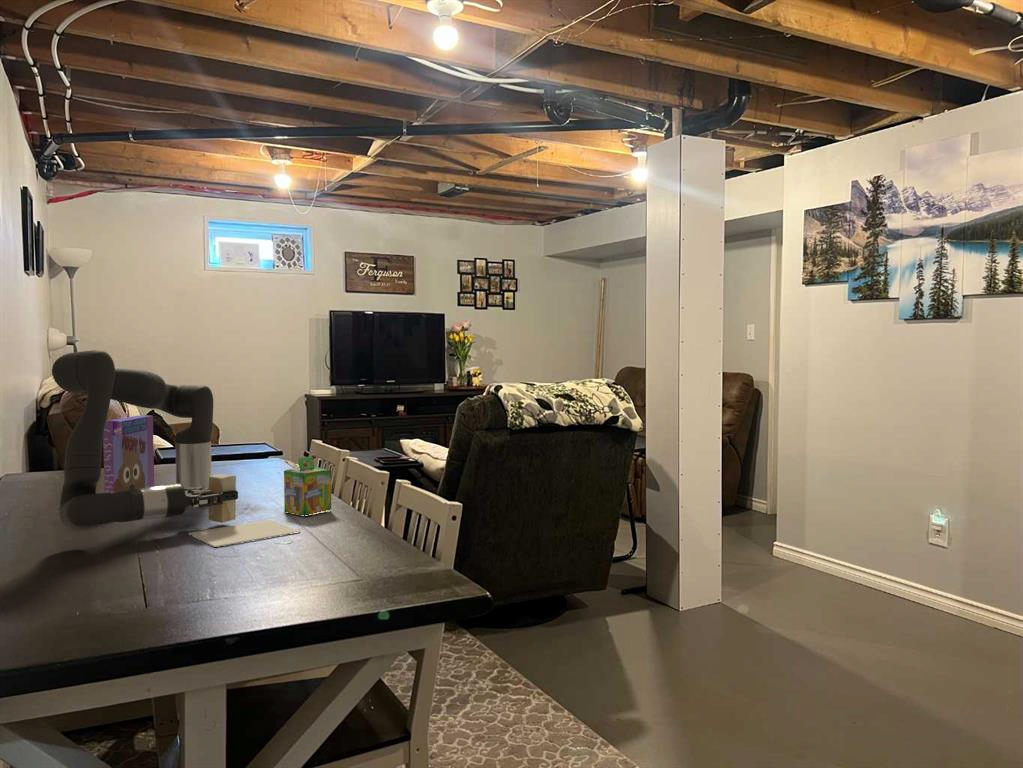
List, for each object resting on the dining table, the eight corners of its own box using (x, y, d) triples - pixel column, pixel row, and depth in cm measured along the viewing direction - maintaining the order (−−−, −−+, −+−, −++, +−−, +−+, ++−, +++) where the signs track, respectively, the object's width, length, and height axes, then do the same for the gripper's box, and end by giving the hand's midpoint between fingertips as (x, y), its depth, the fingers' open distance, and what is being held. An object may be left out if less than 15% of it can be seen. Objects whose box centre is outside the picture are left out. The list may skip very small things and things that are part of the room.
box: (207, 520, 182) (207, 475, 181) (222, 517, 186) (221, 473, 185) (222, 523, 179) (222, 477, 179) (237, 519, 183) (236, 475, 183)
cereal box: (122, 508, 202) (120, 420, 201) (105, 508, 202) (103, 420, 201) (154, 495, 219) (152, 415, 218) (138, 495, 219) (136, 415, 218)
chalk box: (304, 518, 191) (304, 461, 191) (283, 513, 197) (282, 457, 196) (333, 512, 199) (332, 457, 198) (311, 507, 204) (311, 454, 204)
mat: (188, 534, 174) (188, 532, 174) (270, 521, 187) (270, 519, 187) (214, 548, 162) (214, 546, 162) (299, 533, 176) (299, 531, 176)
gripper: (170, 490, 167) (244, 481, 178) (150, 481, 177) (220, 473, 189) (171, 523, 167) (244, 512, 179) (151, 512, 178) (221, 502, 189)
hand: (231, 492), depth 184 cm, fingers closed on box, 6 cm apart
